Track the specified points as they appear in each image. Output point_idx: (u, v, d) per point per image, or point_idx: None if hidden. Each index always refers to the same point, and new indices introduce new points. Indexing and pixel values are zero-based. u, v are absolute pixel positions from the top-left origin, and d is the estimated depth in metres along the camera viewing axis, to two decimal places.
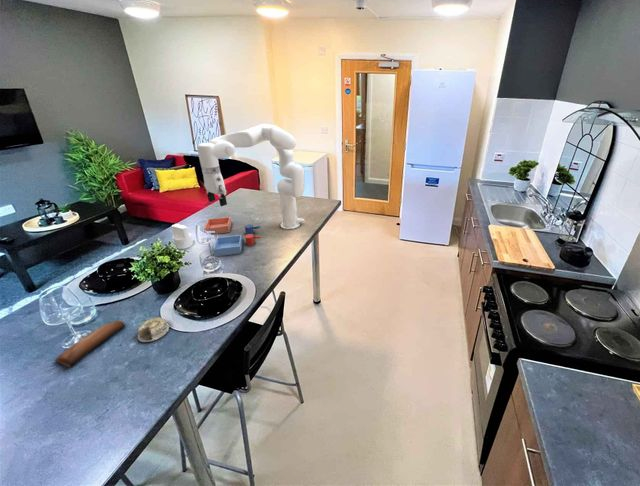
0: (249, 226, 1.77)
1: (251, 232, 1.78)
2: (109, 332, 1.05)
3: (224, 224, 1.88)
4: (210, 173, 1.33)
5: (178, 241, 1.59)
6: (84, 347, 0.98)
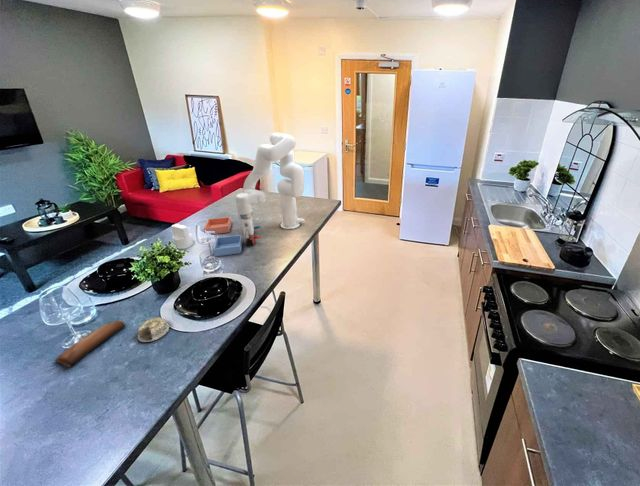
0: None
1: None
2: (109, 332, 1.05)
3: (224, 224, 1.88)
4: (241, 218, 1.58)
5: (178, 241, 1.59)
6: (84, 347, 0.98)
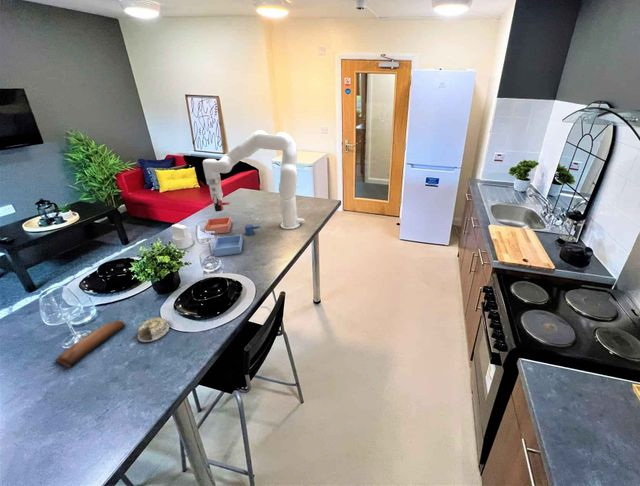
0: (249, 226, 1.77)
1: (251, 232, 1.78)
2: (109, 332, 1.05)
3: (224, 224, 1.88)
4: (208, 183, 1.63)
5: (178, 241, 1.59)
6: (84, 347, 0.98)
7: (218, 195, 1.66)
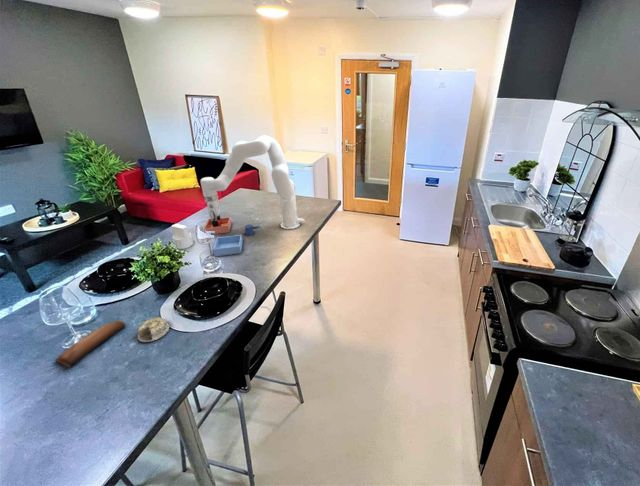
0: (249, 226, 1.77)
1: (251, 232, 1.78)
2: (109, 332, 1.05)
3: (224, 224, 1.88)
4: (206, 200, 1.72)
5: (178, 241, 1.59)
6: (84, 347, 0.98)
7: (215, 211, 1.74)
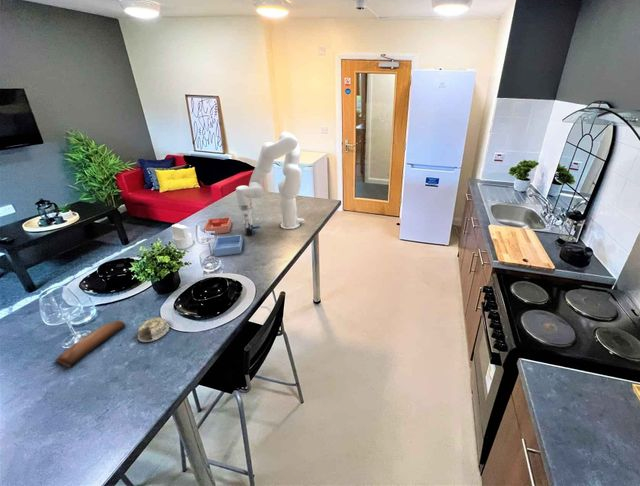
0: (249, 226, 1.77)
1: None
2: (110, 332, 1.05)
3: (224, 224, 1.88)
4: (241, 209, 1.69)
5: (178, 241, 1.59)
6: (84, 347, 0.98)
7: (250, 220, 1.71)
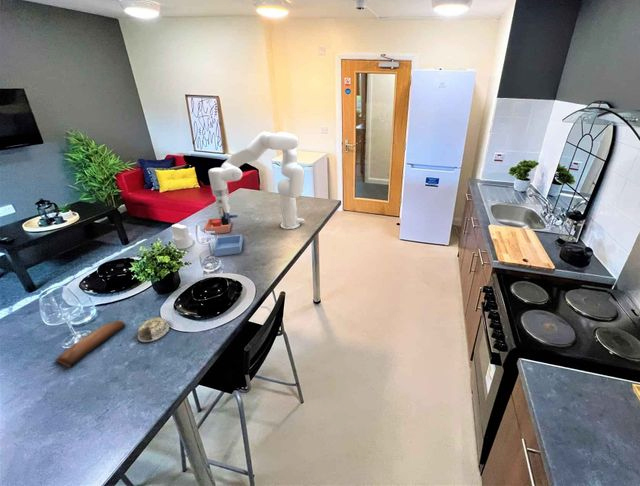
0: None
1: None
2: (110, 332, 1.05)
3: None
4: (214, 195, 1.48)
5: (178, 241, 1.59)
6: (84, 347, 0.98)
7: (225, 208, 1.50)
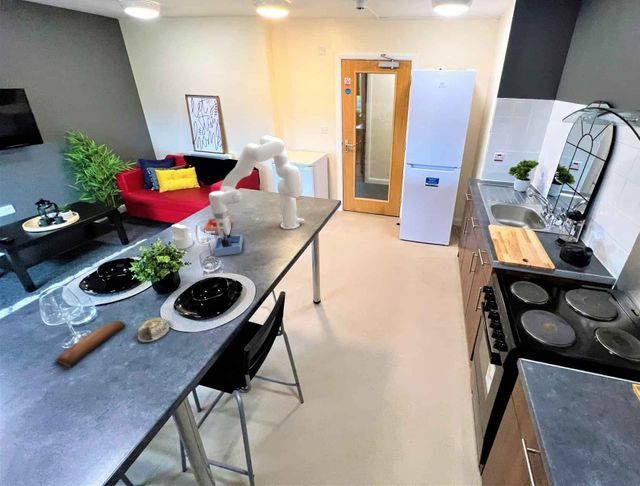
0: None
1: None
2: (110, 332, 1.05)
3: None
4: (215, 217, 1.51)
5: (178, 241, 1.59)
6: (84, 347, 0.98)
7: (226, 230, 1.53)
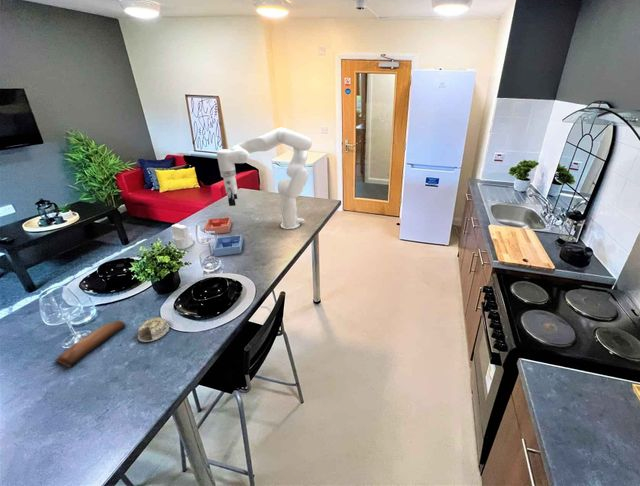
0: (226, 240, 1.60)
1: None
2: (110, 332, 1.05)
3: (224, 224, 1.88)
4: (223, 176, 1.52)
5: (178, 241, 1.59)
6: (84, 347, 0.98)
7: (233, 189, 1.54)
